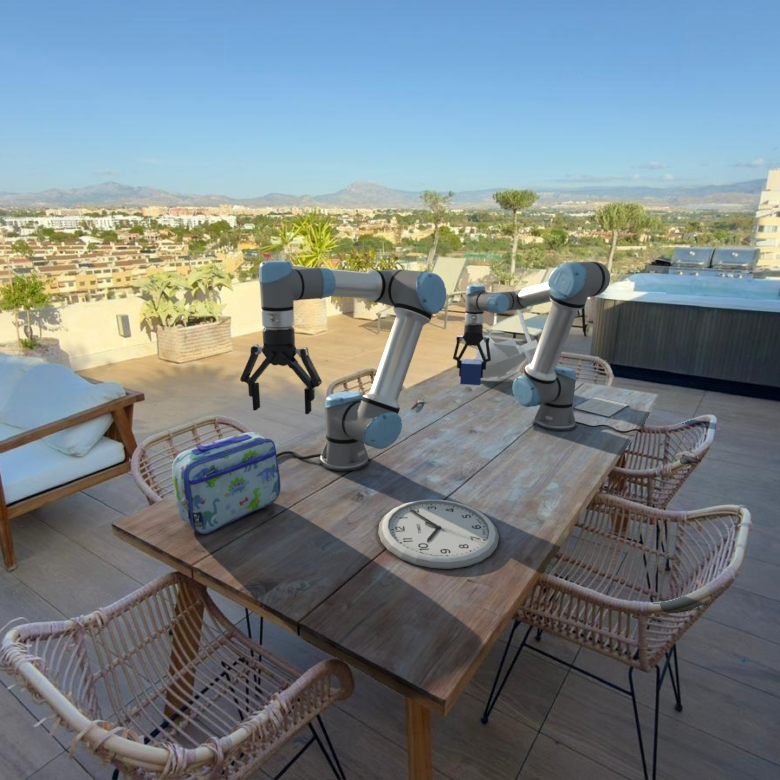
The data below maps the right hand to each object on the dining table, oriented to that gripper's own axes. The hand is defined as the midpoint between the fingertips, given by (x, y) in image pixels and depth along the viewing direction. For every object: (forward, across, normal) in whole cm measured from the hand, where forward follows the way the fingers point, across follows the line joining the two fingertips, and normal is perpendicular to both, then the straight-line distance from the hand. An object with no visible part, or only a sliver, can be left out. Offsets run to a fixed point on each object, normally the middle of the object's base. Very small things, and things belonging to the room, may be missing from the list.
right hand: (470, 376), depth 222 cm
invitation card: (+13, +56, +10) cm, 59 cm away
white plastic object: (+13, +16, +32) cm, 38 cm away
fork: (+13, -22, -5) cm, 26 cm away
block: (+3, 0, 0) cm, 3 cm away
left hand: (-15, -45, -99) cm, 110 cm away
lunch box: (+13, -59, -104) cm, 120 cm away
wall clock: (+14, -5, -101) cm, 102 cm away
